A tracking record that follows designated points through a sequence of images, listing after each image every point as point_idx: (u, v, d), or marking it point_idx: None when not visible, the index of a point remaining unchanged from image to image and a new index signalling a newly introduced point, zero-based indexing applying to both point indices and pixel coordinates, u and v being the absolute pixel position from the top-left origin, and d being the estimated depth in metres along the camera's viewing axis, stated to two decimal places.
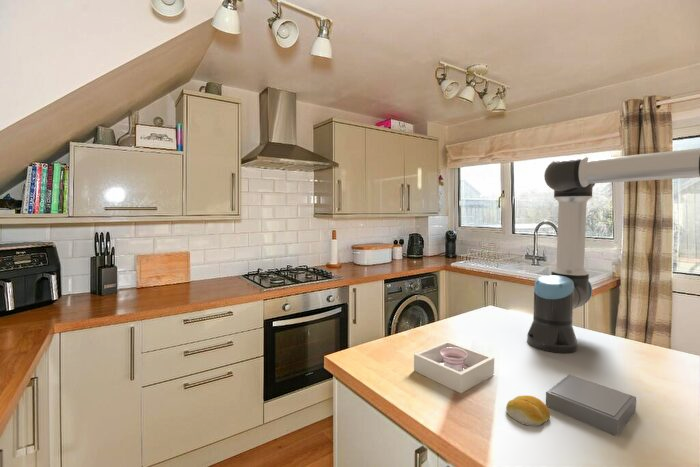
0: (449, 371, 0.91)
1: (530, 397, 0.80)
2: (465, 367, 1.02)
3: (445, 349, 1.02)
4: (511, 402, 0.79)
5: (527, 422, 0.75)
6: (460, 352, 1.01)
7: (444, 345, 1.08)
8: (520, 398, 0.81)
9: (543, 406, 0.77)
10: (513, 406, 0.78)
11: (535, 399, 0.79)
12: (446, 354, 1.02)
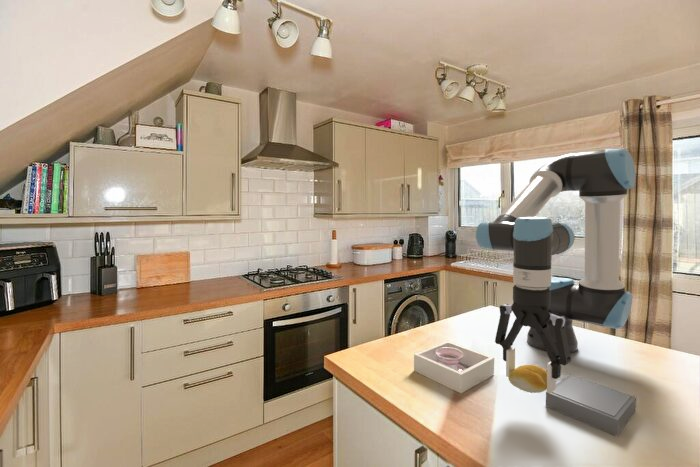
0: (449, 371, 0.91)
1: (532, 366, 0.80)
2: (461, 367, 1.02)
3: (441, 349, 1.02)
4: (513, 371, 0.79)
5: (530, 389, 0.74)
6: (456, 352, 1.01)
7: (444, 345, 1.08)
8: (522, 367, 0.80)
9: (545, 374, 0.77)
10: (515, 375, 0.77)
11: (537, 367, 0.79)
12: (442, 353, 1.02)
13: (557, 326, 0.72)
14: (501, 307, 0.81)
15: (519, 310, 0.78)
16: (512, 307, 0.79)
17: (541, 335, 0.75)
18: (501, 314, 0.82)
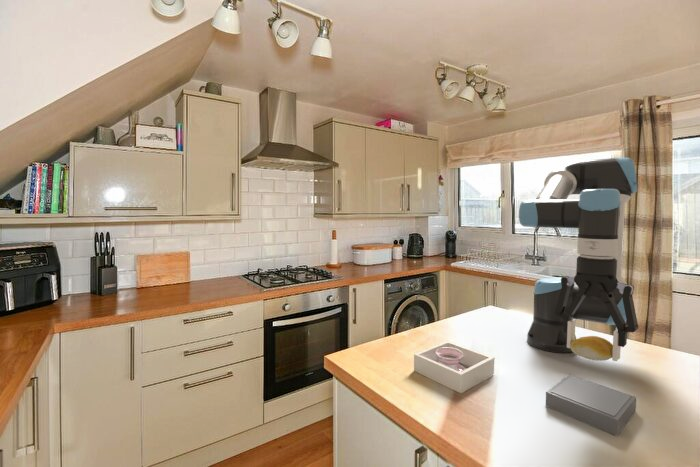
0: (449, 371, 0.91)
1: (594, 336, 0.81)
2: (461, 367, 1.02)
3: (441, 349, 1.02)
4: (576, 341, 0.80)
5: (596, 357, 0.76)
6: (456, 352, 1.01)
7: (444, 345, 1.08)
8: (584, 338, 0.82)
9: (609, 343, 0.78)
10: (579, 344, 0.79)
11: (600, 338, 0.80)
12: (442, 353, 1.02)
13: (625, 294, 0.73)
14: (563, 279, 0.83)
15: (583, 281, 0.80)
16: (575, 278, 0.81)
17: (607, 304, 0.76)
18: (562, 285, 0.83)
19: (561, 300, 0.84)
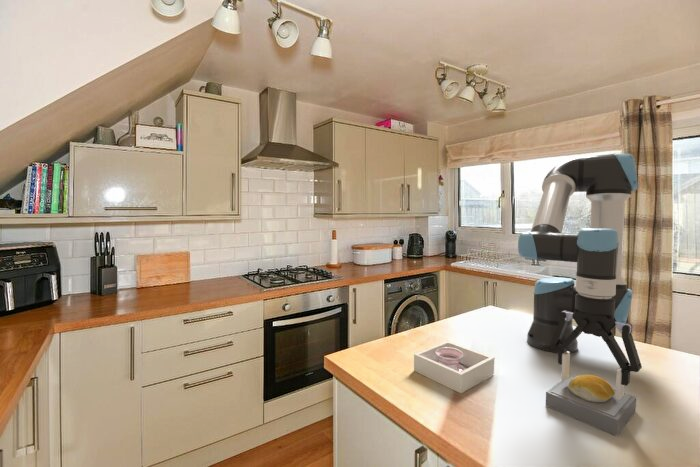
0: (449, 371, 0.91)
1: (592, 376, 0.82)
2: (461, 367, 1.02)
3: (441, 349, 1.02)
4: (574, 380, 0.81)
5: (594, 399, 0.77)
6: (456, 352, 1.01)
7: (444, 345, 1.08)
8: (582, 377, 0.82)
9: (607, 384, 0.79)
10: (577, 384, 0.80)
11: (598, 377, 0.81)
12: (442, 353, 1.02)
13: (624, 333, 0.74)
14: (561, 313, 0.84)
15: (581, 318, 0.80)
16: (574, 315, 0.82)
17: (608, 343, 0.76)
18: (560, 320, 0.84)
19: (557, 333, 0.85)
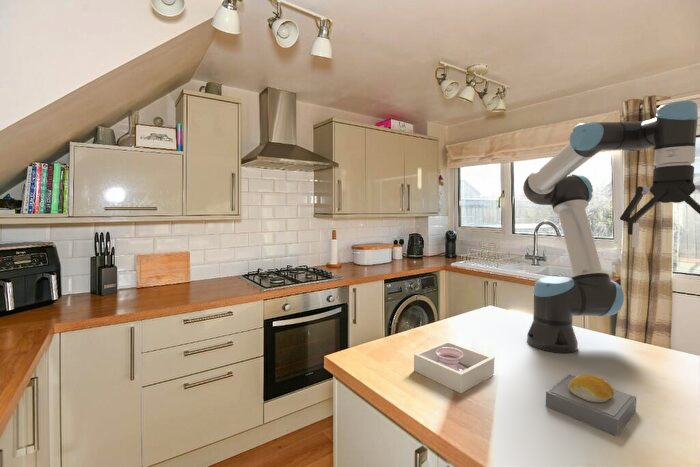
0: (449, 371, 0.91)
1: (592, 376, 0.82)
2: (461, 367, 1.02)
3: (441, 349, 1.02)
4: (574, 381, 0.81)
5: (593, 399, 0.77)
6: (456, 352, 1.01)
7: (444, 345, 1.08)
8: (582, 377, 0.82)
9: (607, 384, 0.79)
10: (577, 384, 0.80)
11: (597, 378, 0.81)
12: (443, 353, 1.02)
13: None
14: (639, 187, 0.91)
15: (659, 190, 0.88)
16: (652, 188, 0.89)
17: (691, 204, 0.83)
18: (636, 194, 0.91)
19: (630, 207, 0.93)
